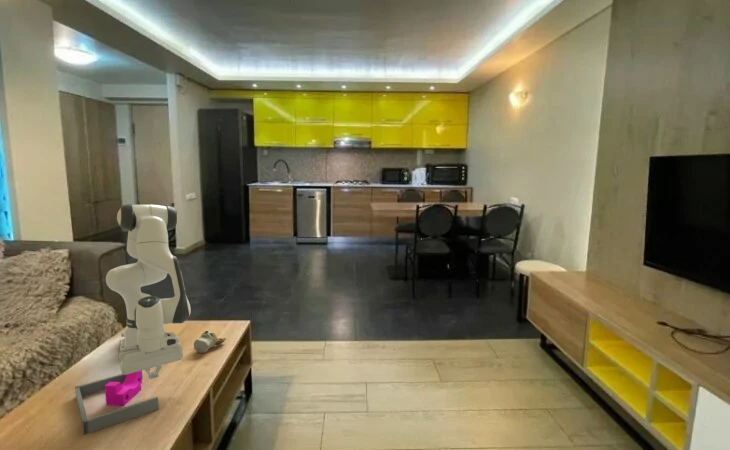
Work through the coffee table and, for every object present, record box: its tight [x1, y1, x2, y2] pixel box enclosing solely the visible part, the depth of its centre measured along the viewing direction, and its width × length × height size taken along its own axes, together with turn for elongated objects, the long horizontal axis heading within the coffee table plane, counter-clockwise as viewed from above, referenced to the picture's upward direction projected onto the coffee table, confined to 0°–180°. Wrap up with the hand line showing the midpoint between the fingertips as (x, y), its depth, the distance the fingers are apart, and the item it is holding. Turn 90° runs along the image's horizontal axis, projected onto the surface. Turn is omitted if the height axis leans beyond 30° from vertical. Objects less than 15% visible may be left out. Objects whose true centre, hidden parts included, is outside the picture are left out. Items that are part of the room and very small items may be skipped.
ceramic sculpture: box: [193, 330, 227, 354], centre depth 186 cm, size 11×9×15 cm
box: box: [74, 370, 160, 435], centre depth 143 cm, size 26×21×4 cm
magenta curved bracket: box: [104, 371, 143, 407], centre depth 148 cm, size 15×6×8 cm, turn 178°
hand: (153, 377), depth 149 cm, fingers closed
